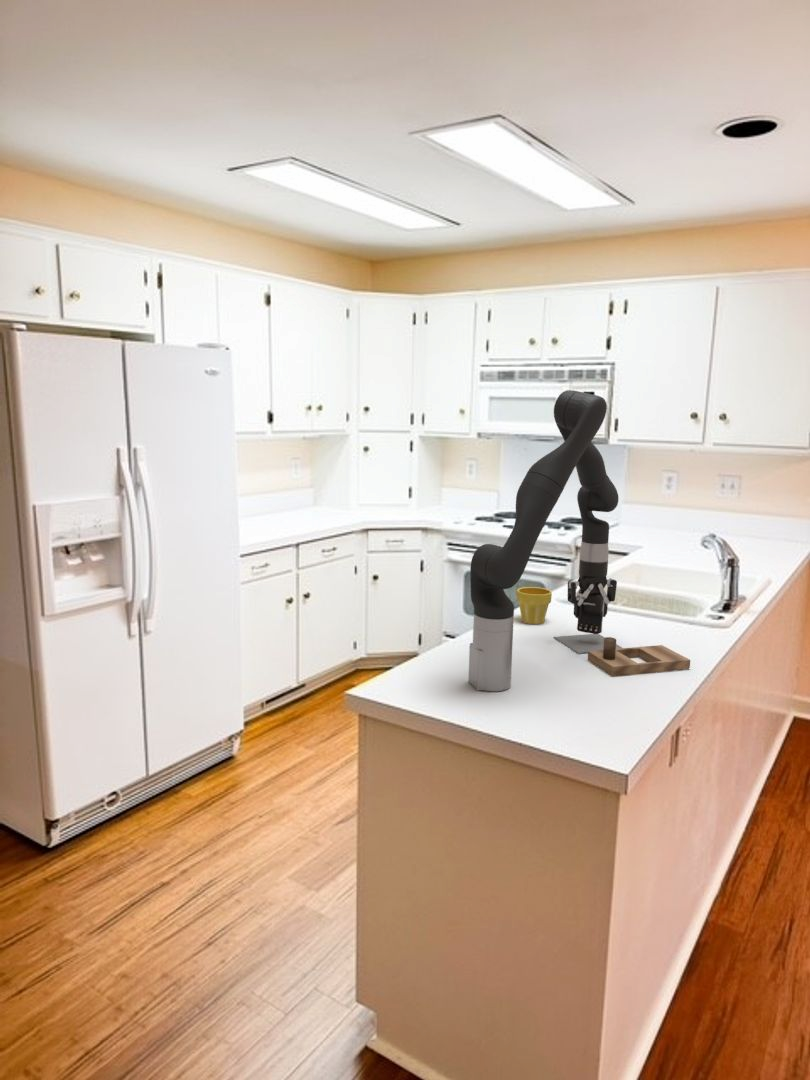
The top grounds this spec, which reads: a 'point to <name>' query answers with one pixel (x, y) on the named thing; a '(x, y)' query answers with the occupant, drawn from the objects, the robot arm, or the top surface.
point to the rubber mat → (583, 642)
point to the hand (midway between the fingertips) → (590, 617)
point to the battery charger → (591, 614)
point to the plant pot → (533, 604)
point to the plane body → (621, 664)
